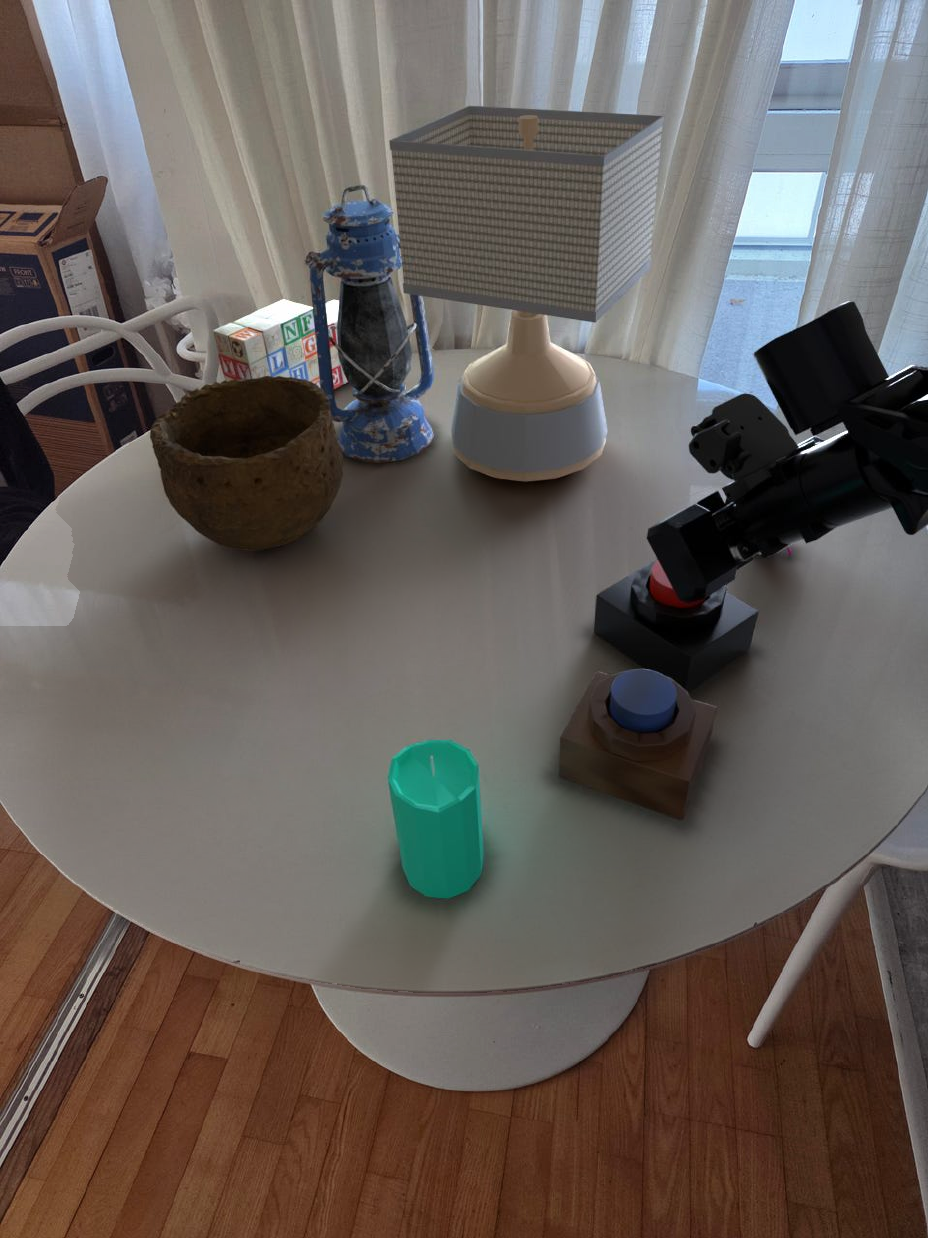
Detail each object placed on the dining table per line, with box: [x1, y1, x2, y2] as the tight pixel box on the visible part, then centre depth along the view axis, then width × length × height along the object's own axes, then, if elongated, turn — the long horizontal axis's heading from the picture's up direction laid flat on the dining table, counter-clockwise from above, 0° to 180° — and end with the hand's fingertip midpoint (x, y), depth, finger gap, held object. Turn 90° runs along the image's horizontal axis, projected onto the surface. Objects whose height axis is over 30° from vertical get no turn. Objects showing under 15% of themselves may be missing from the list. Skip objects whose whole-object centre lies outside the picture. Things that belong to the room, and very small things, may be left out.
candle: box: [387, 739, 485, 900], centre depth 59 cm, size 6×6×12 cm
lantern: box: [303, 184, 435, 464], centre depth 101 cm, size 15×12×30 cm
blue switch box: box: [558, 670, 718, 821], centre depth 67 cm, size 10×8×6 cm
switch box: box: [593, 558, 760, 694], centre depth 77 cm, size 11×9×6 cm
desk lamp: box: [389, 105, 665, 483], centre depth 94 cm, size 22×19×37 cm
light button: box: [649, 560, 706, 608], centre depth 75 cm, size 5×5×2 cm
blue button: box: [610, 668, 677, 733], centre depth 64 cm, size 5×5×2 cm
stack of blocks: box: [212, 298, 349, 390], centre depth 118 cm, size 21×6×12 cm, turn 141°
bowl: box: [149, 376, 345, 551], centre depth 91 cm, size 19×19×15 cm
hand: (685, 544), depth 72 cm, fingers closed
